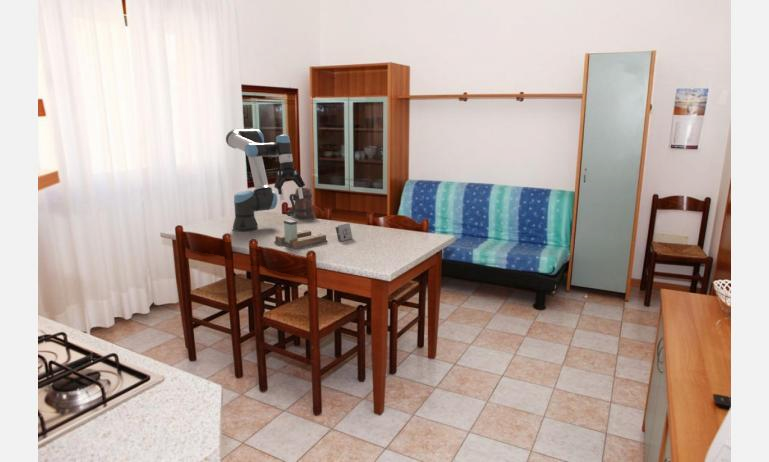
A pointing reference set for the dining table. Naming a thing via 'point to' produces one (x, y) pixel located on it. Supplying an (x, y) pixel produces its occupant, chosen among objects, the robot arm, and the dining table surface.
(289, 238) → the fader tab
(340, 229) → the electrical switch
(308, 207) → the tankard
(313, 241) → the brown wooden tray
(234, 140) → the robot arm
